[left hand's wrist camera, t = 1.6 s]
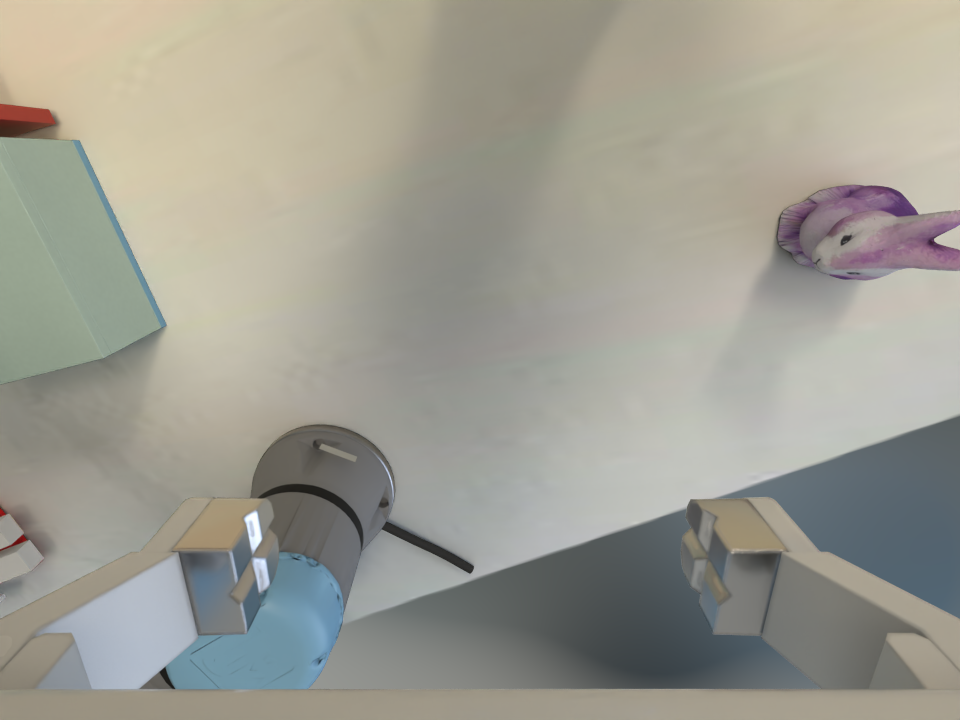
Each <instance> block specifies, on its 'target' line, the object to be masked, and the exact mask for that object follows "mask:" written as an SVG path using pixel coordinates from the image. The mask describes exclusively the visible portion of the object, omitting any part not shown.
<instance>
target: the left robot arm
mask: <svg viewBox="0 0 960 720" xmlns="http://www.w3.org/2000/svg"><path fill="white" fill-rule="evenodd" d="M273 519H274V512H273V507H272V503H271V502H270V501H269V500H268V499H260V498H214V497H208V498H189V499H186V500H185V501H184V502H183V503H182V504H181V505H180V506H179V508H178V509H177V510H176V511H175V512H174V513H173V514H172V516H171V517H170V518H169V519H168V520H167V521H166V522H165V524H164V525H163V526H162V527H161V528H160V529H159V531H158V532H157V533H156V534H155V535H154V536H153V537H152V539H151V540H150V541H149V542H148V543H147V544H146V545H145V547H144V548H143V549H142V550H141V551H140V552H131V553H129V554H127V555H125V556H123V557H121V558H119V559H117V560H115V561H113V562H111V563H109V564H107V565H105V566H103V567H101V568H99V569H97V570H95V571H93V572H91V573H89V574H87V575H85V576H83V577H81V578H80V579H78V580H76V581H74V582H72V583H70V584H68V585H66V586H64V587H62V588H60V589H58V590H56V591H54V592H52V593H50V594H48V595H46V596H44V597H42V598H40V599H38V600H36V601H34V602H32V603H30V604H28V605H27V606H25V607H23V608H21V609H19V610H17V611H15V612H13V613H11V614H9V615H7V616H5V617H3V618H1V619H0V720H960V619H959V618H957V617H955V616H953V615H951V614H949V613H947V612H945V611H943V610H941V609H939V608H937V607H935V606H933V605H931V604H929V603H927V602H925V601H923V600H921V599H919V598H917V597H916V596H914V595H912V594H910V593H908V592H906V591H904V590H902V589H900V588H898V587H896V586H894V585H892V584H890V583H888V582H886V581H884V580H882V579H880V578H878V577H876V576H874V575H872V574H871V573H869V572H867V571H865V570H863V569H861V568H859V567H857V566H855V565H853V564H851V563H849V562H847V561H845V560H843V559H841V558H839V557H837V556H835V555H833V554H831V553H829V552H820V551H819V550H818V549H817V548H816V547H815V546H814V544H813V543H812V542H811V541H810V540H809V539H808V537H807V536H806V535H805V534H804V533H803V532H802V531H801V529H800V528H799V527H798V526H797V525H796V524H795V523H794V521H793V520H792V519H791V518H790V517H789V516H788V514H787V513H786V512H785V511H784V510H783V509H782V508H781V506H780V505H779V504H778V503H777V502H776V501H775V500H774V499H772V498H769V497H758V498H742V499H691V500H690V502H689V504H688V506H687V511H686V519H687V521H688V523H689V525H690V526H691V528H690V529H689V530H688V531H687V532H686V533H685V534H684V535H683V537H682V544H681V561H682V568H683V571H684V575H685V577H686V580H687V582H688V584H689V586H690V587H691V588H692V589H694V590H695V591H696V592H698V593H699V594H701V595H700V601H699V607H700V609H701V611H702V612H703V615H704V617H705V619H706V621H707V623H708V625H709V627H710V629H711V631H712V633H713V634H719V635H754V636H762V637H761V638H762V639H763V640H764V641H766V642H767V643H768V644H769V645H770V646H771V647H773V648H774V649H775V650H776V651H777V652H778V653H780V654H781V655H782V656H783V657H784V658H785V659H787V660H788V661H789V662H790V663H791V664H793V665H794V666H795V667H796V668H797V669H798V670H800V671H801V672H802V673H803V674H804V675H805V676H807V677H808V678H809V679H810V680H811V681H812V682H814V683H815V684H816V685H817V686H818V687H820V688H821V689H139V688H141V687H142V686H143V685H144V684H145V683H146V682H148V681H149V680H150V679H151V678H152V677H154V676H155V675H156V674H157V673H158V672H159V671H161V670H162V669H163V668H164V667H165V666H167V665H168V664H169V663H170V662H171V661H172V660H174V659H175V658H176V657H177V656H178V655H179V654H181V653H182V652H183V651H184V650H185V649H187V648H188V647H189V646H190V645H191V644H192V643H194V642H195V641H196V640H197V639H198V638H199V637H198V636H206V635H241V634H247V633H248V631H249V629H250V627H251V625H252V623H253V621H254V619H255V617H256V615H257V613H258V611H259V609H260V607H261V601H260V595H259V594H261V593H262V592H264V591H265V590H266V589H268V588H269V587H270V586H271V584H272V582H273V579H274V577H275V575H276V571H277V566H278V562H279V543H278V536H277V535H276V534H275V533H274V532H273V531H272V530H271V529H270V528H269V526H270V525H271V523H272V521H273Z"/></svg>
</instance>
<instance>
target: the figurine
mask: <svg viewBox="0 0 960 720" xmlns="http://www.w3.org/2000/svg"><path fill="white" fill-rule="evenodd" d="M779 225H780V226H779V230H778V231H779V232H778V235H777V236H778V244H779V245H780V246H781V247H782V248H783V249H785V250H787V251H789V252H791V254H792V257H793V259H794V260H795V261H796V262H797V263H799V264H802V265H805V266H809V267H813V268H816V269H817V270H818V271H819V272H822V273H826V274H829V275H831V276H833V277H836V278H840V279H857V280H871V279H877V278H880V277H883V276H886V275H889V274H891V273H893V272H895V271H897V270H901V269H906V268H918V269H928V270H947V271H960V250H958V249H954V248H950V247H946V246H943V245H939V244H937V243H936V242H934V238H936V237H937V236H939V235H941V234H943V233H945V232H947V231H949V230H951V229H953V228H955V227H957V226H958V225H960V210H959V211H956V210H955V211H945V212H937V213H929V214H921V215H919V214H918V213H917V211H916V210H915V208H914V207H913V206H912V205H911V204H910V203H909V201H908V200H907V199H906V198H905V197H904V196H903V195H902V194H901V193H900V192H899V191H897V190H894V189H892V188H888V187H883V186H861V185H849V186H840V187H833V188H828V189H825V190H821V191H818V192H817V193H815V194H814V195H812V196H811V197H809V198H808V199H807V200H806V201H804V202H801V203H798V204H795V205H793V206H790V207H788V208H787V209H785V210H784V211H783V214H782V215H781V218H780V224H779Z"/></svg>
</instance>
